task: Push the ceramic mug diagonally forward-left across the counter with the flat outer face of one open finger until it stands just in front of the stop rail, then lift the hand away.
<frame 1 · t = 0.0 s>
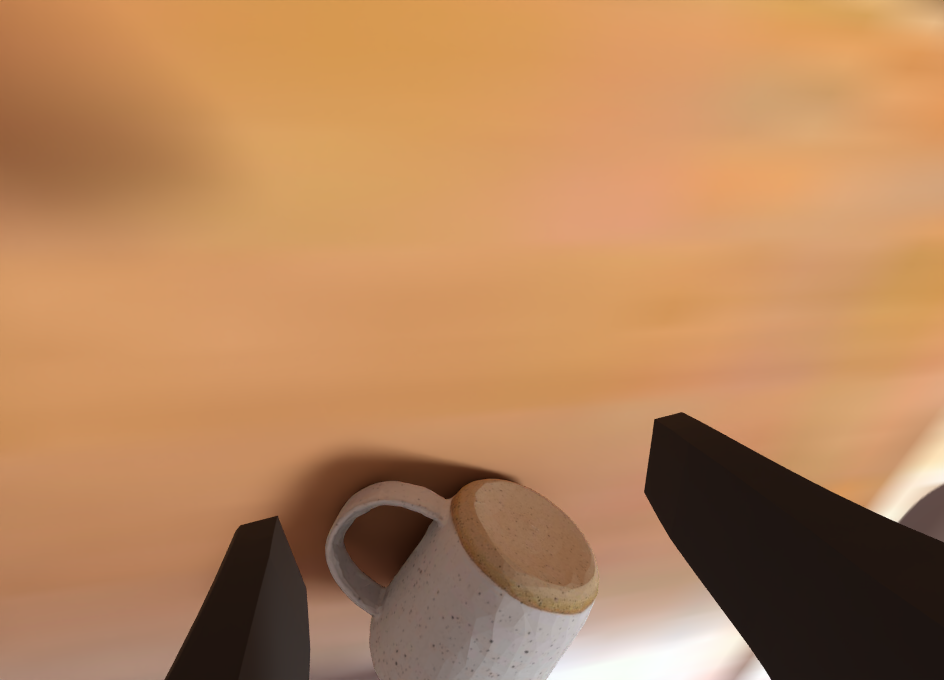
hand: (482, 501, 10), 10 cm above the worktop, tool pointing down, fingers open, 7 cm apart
ceramic mug: (437, 525, 25), on the worktop
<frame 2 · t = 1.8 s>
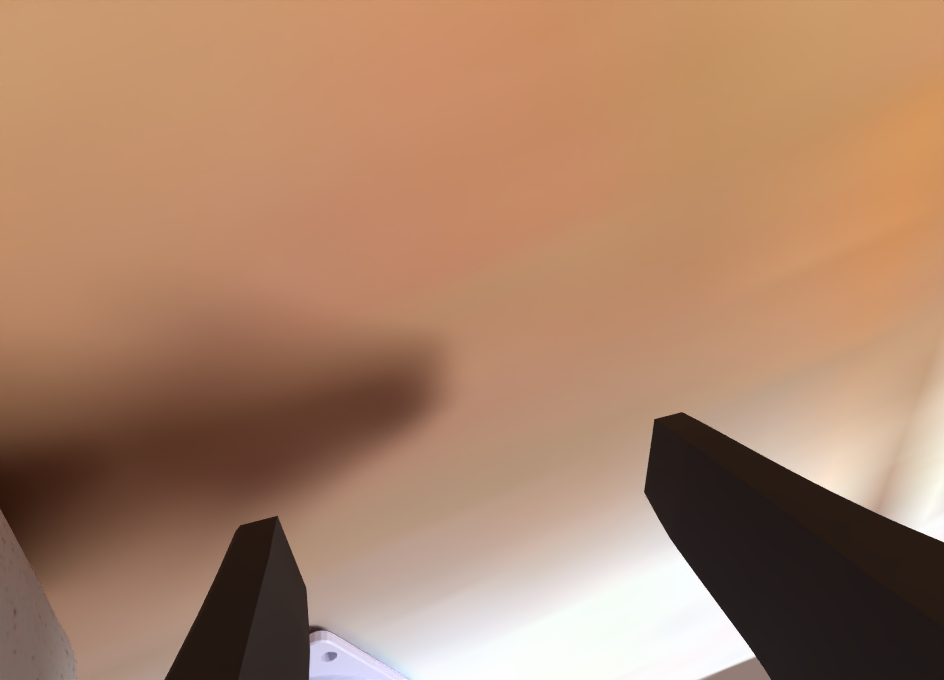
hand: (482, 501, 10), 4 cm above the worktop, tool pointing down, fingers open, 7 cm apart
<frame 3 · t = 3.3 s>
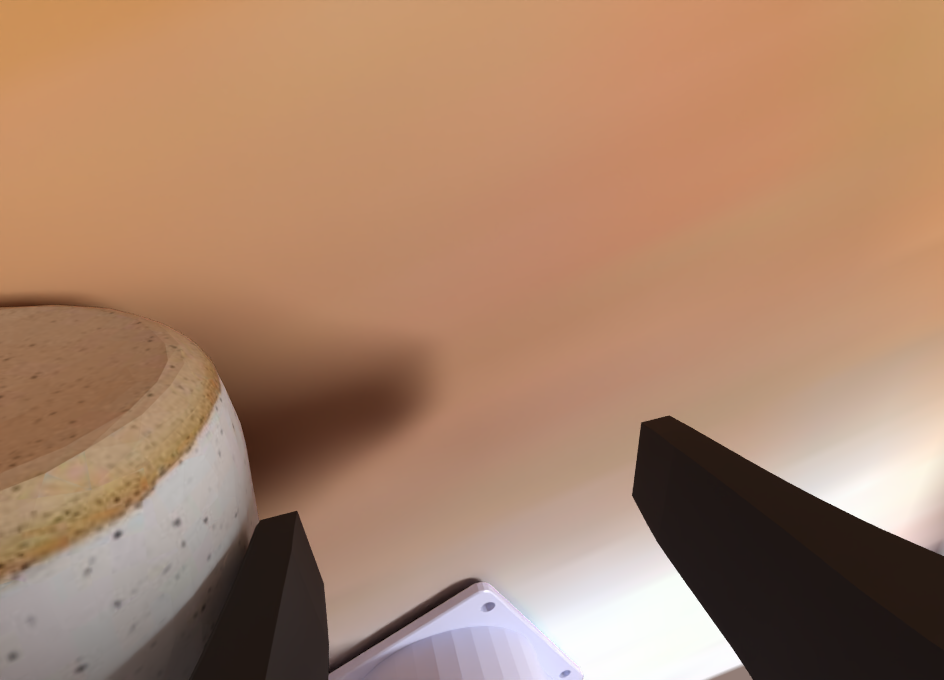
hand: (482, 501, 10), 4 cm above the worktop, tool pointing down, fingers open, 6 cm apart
ceramic mug: (37, 459, 12), on the worktop, touching gripper
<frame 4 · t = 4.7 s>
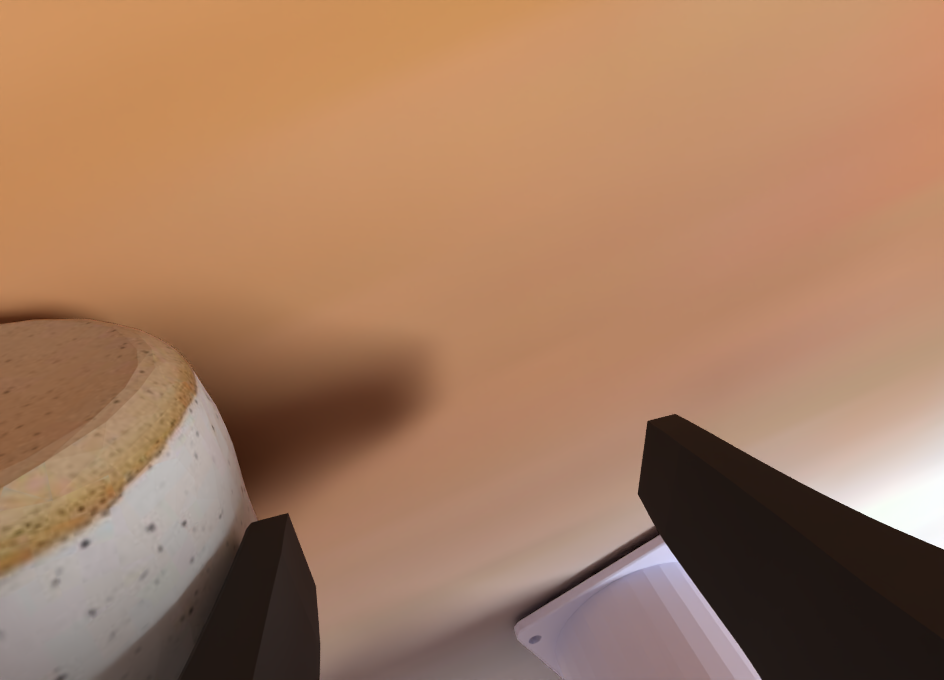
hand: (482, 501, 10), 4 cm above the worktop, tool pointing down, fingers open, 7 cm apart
ceramic mug: (43, 473, 12), on the worktop, touching gripper
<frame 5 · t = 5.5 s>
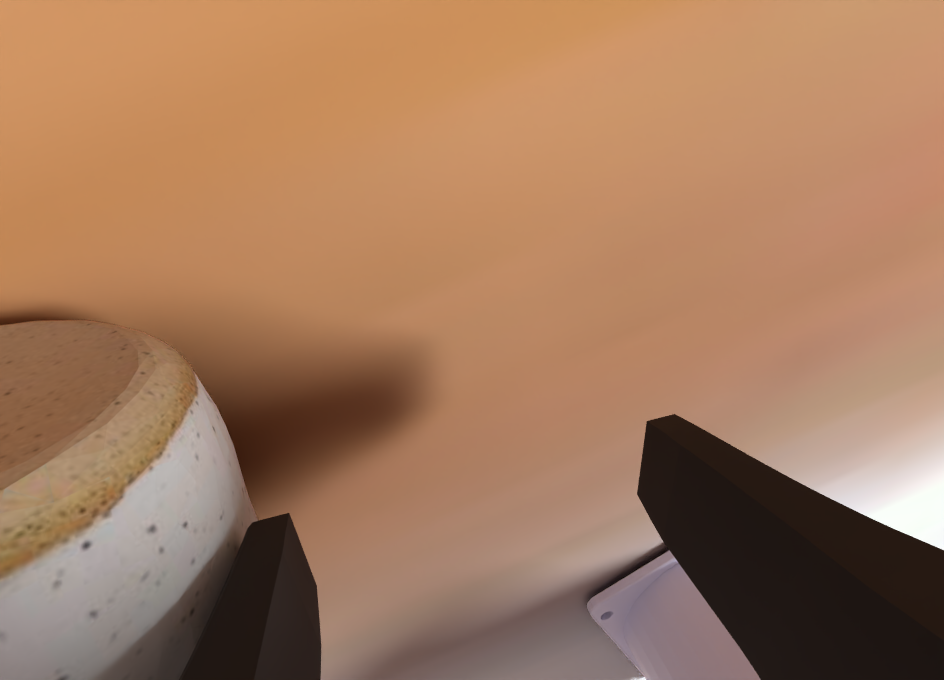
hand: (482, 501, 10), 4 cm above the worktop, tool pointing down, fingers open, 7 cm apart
ceramic mug: (43, 474, 12), on the worktop, touching gripper
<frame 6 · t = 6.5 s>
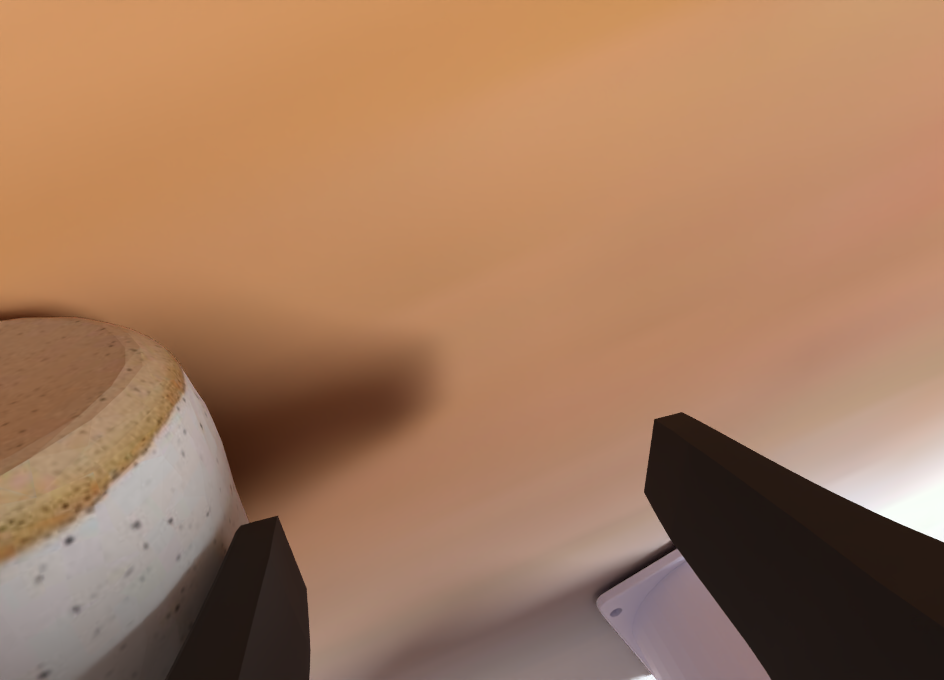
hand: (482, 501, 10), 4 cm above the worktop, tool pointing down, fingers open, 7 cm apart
ceramic mug: (34, 471, 12), on the worktop
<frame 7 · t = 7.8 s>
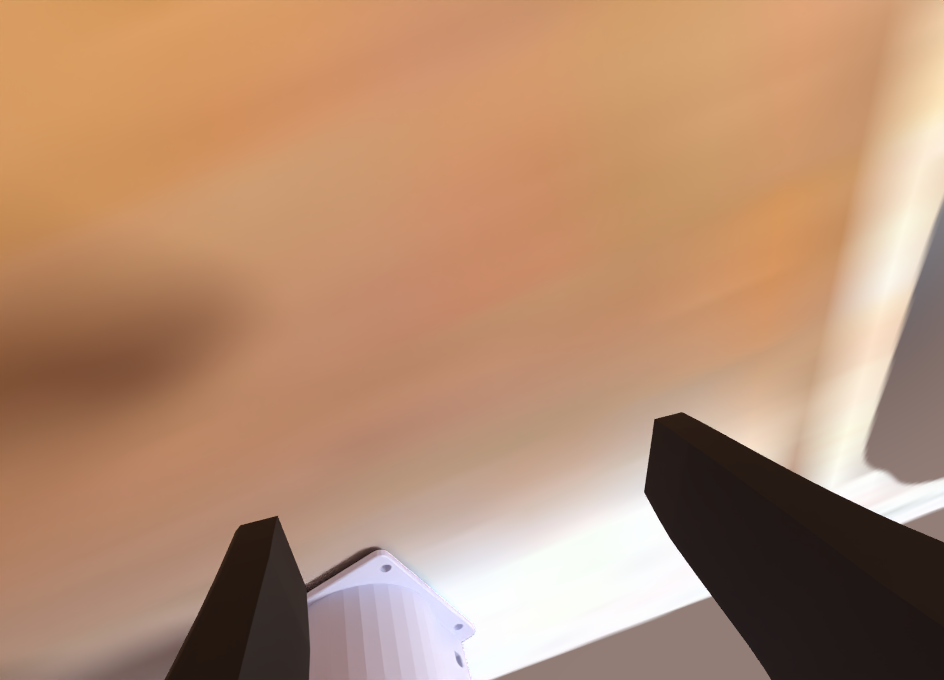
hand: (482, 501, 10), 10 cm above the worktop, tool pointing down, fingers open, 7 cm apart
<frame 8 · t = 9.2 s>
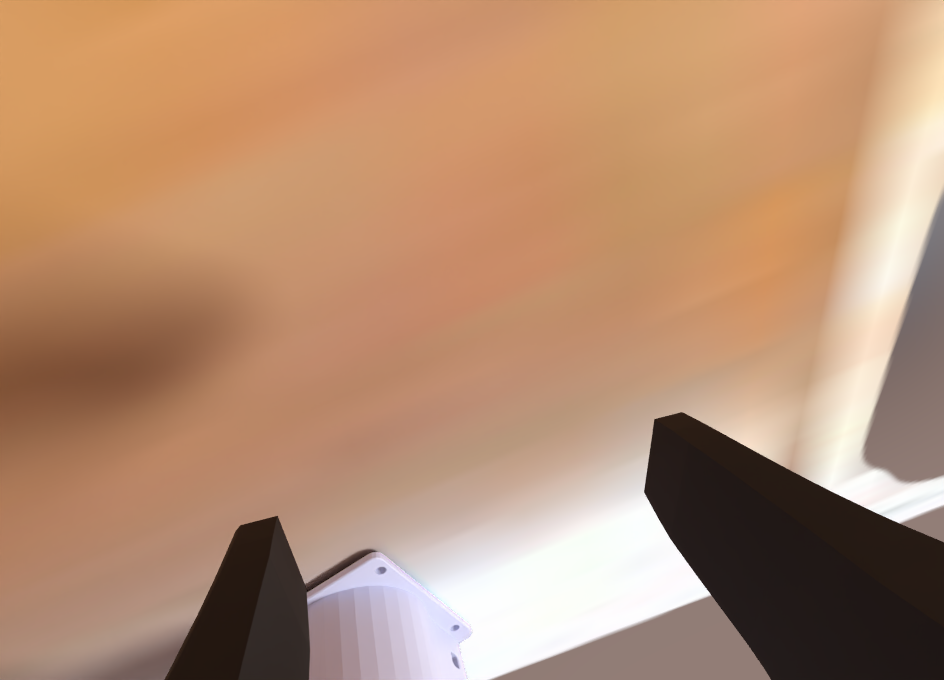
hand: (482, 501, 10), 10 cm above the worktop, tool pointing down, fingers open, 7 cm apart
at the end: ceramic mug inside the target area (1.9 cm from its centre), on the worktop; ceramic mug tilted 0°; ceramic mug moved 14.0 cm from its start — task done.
